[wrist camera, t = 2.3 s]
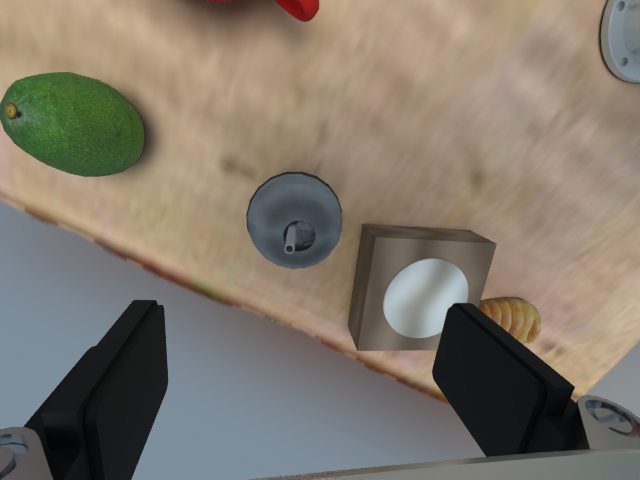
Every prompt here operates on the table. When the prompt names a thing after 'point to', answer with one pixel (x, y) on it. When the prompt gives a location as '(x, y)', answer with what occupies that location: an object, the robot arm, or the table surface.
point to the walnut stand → (413, 284)
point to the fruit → (73, 123)
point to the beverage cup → (294, 219)
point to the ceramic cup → (296, 8)
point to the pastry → (514, 317)
